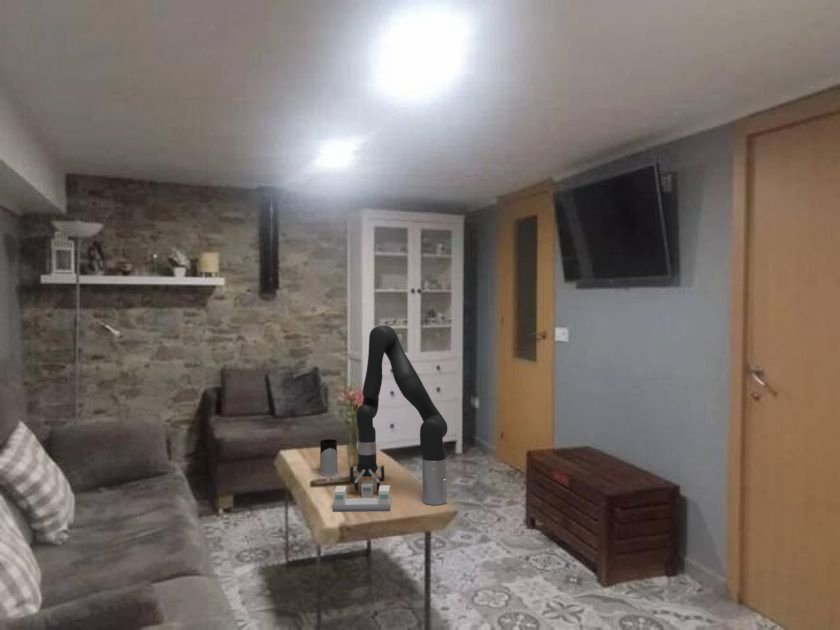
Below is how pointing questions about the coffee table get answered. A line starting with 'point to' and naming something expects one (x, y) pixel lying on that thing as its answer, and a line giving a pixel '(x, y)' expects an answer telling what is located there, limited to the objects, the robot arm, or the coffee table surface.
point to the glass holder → (328, 457)
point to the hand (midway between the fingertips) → (367, 491)
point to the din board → (361, 501)
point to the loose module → (367, 488)
